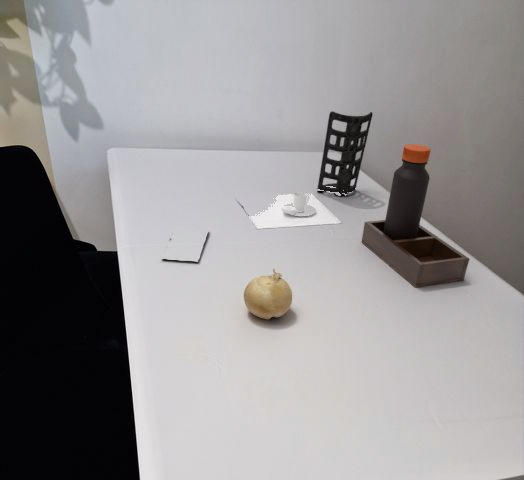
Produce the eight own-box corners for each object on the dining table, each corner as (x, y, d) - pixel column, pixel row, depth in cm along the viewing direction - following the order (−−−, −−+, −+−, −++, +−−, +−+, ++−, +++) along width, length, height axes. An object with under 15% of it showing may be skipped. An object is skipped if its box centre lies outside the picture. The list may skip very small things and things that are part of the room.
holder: (347, 183, 150) (362, 105, 137) (363, 195, 145) (380, 116, 132) (312, 188, 146) (324, 108, 133) (327, 201, 141) (341, 119, 128)
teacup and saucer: (284, 219, 128) (286, 201, 126) (274, 206, 134) (275, 189, 132) (320, 216, 130) (322, 199, 128) (308, 204, 137) (310, 187, 134)
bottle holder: (404, 237, 123) (409, 217, 121) (463, 280, 107) (469, 258, 105) (361, 242, 120) (364, 221, 117) (415, 287, 104) (420, 265, 101)
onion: (287, 328, 90) (291, 289, 86) (238, 322, 91) (240, 282, 87) (293, 303, 97) (296, 266, 93) (247, 298, 98) (249, 260, 94)
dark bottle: (415, 243, 119) (437, 145, 108) (412, 256, 113) (434, 154, 102) (383, 237, 120) (401, 140, 109) (378, 250, 115) (397, 149, 104)
